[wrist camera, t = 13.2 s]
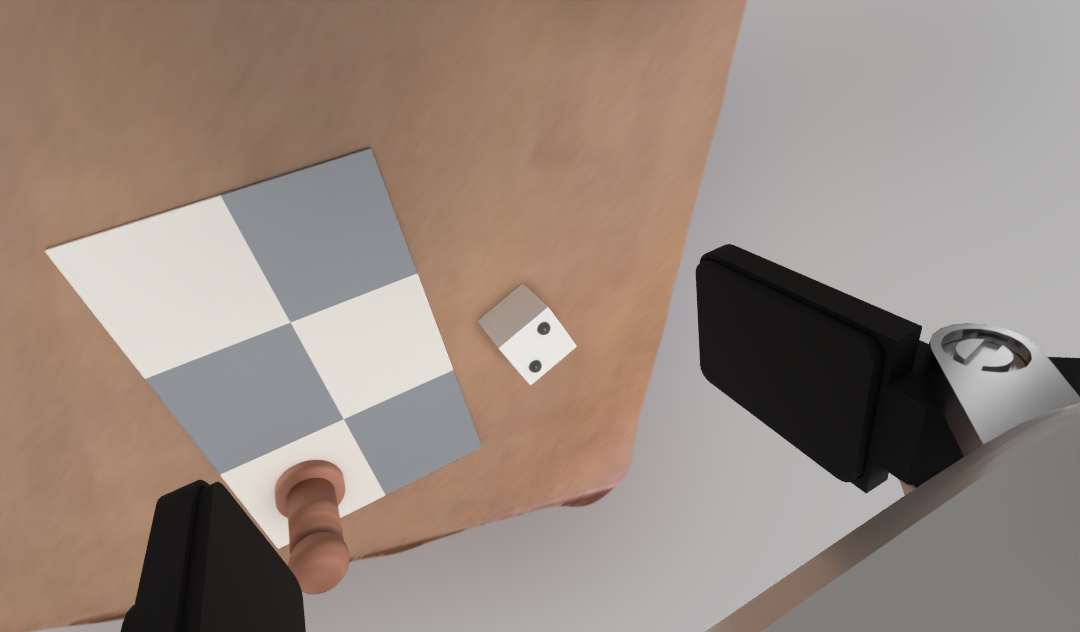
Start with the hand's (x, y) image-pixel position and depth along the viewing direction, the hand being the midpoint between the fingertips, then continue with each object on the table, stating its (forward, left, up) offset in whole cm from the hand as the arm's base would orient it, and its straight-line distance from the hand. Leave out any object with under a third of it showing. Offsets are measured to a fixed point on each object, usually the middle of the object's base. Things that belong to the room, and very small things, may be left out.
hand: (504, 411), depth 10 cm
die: (-9, +18, -30) cm, 36 cm away
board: (+7, +15, -30) cm, 35 cm away
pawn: (+12, +25, -30) cm, 40 cm away
